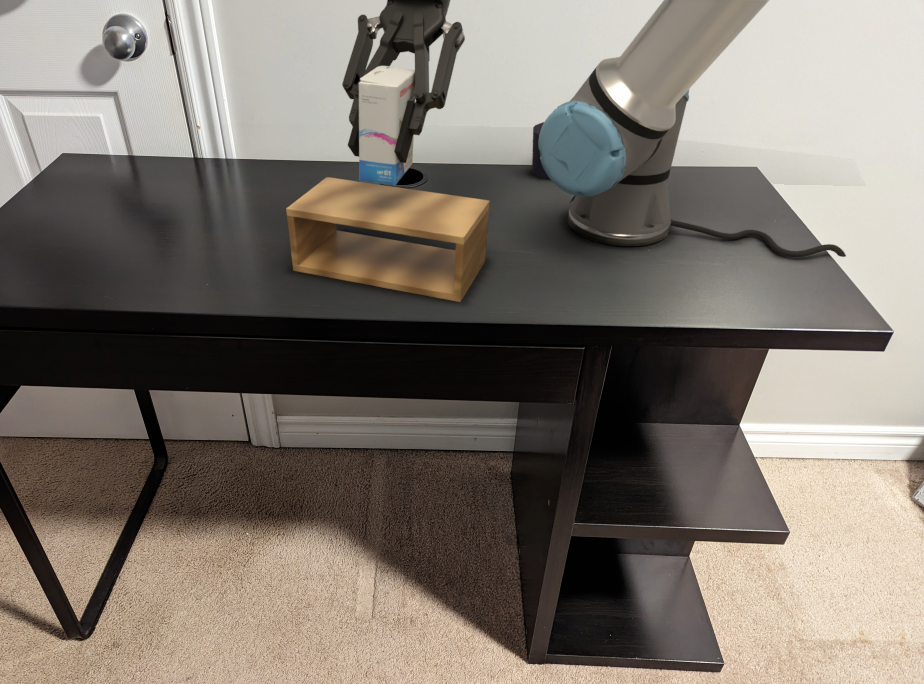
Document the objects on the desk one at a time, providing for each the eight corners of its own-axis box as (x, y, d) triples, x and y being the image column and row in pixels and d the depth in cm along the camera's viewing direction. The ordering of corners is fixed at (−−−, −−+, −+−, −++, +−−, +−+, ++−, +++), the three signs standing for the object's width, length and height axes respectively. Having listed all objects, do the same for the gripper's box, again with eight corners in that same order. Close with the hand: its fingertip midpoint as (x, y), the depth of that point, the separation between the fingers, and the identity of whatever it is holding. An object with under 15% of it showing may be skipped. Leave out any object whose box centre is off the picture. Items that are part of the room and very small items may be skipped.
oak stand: (485, 261, 96) (490, 200, 90) (460, 302, 87) (463, 237, 81) (331, 235, 102) (326, 176, 97) (293, 270, 93) (285, 208, 88)
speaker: (556, 163, 127) (561, 106, 120) (576, 174, 123) (583, 117, 116) (523, 174, 125) (526, 117, 118) (543, 185, 121) (547, 128, 114)
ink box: (397, 187, 83) (398, 84, 76) (358, 182, 84) (355, 80, 77) (414, 163, 89) (417, 66, 82) (378, 159, 90) (377, 63, 83)
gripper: (500, 4, 85) (455, 178, 83) (365, -5, 90) (319, 159, 88) (492, -41, 78) (443, 148, 76) (346, -48, 83) (296, 129, 81)
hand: (376, 153), depth 82 cm, fingers closed on ink box, 5 cm apart
